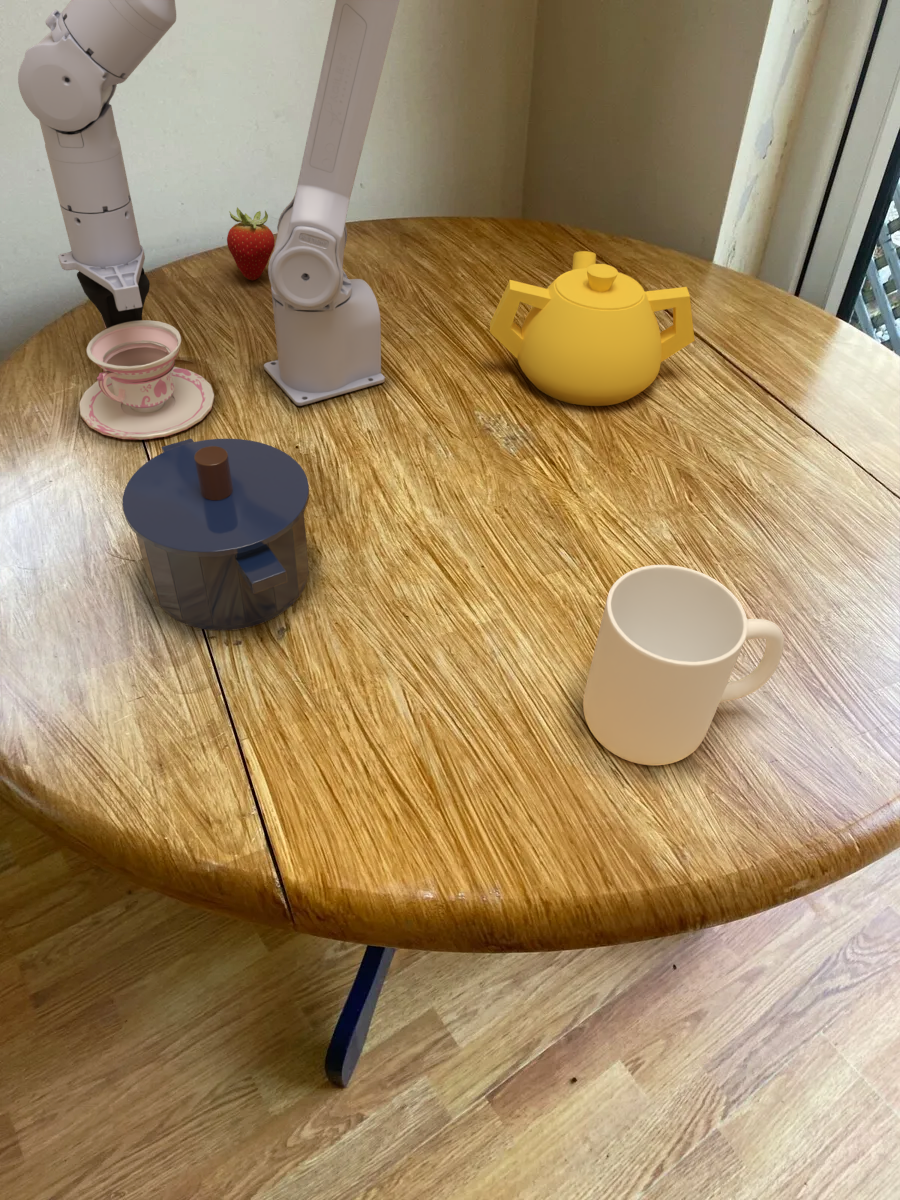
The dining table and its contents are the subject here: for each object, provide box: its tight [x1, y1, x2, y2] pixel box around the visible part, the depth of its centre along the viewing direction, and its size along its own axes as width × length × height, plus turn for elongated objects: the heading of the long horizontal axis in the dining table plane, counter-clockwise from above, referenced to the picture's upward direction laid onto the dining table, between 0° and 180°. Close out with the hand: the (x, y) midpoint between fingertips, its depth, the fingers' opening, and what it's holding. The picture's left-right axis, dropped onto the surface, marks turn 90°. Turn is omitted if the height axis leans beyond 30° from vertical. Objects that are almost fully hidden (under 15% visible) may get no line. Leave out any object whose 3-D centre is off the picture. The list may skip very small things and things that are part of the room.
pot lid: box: [121, 438, 310, 557], centre depth 62 cm, size 13×13×4 cm
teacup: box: [78, 319, 215, 440], centre depth 82 cm, size 12×12×6 cm
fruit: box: [226, 207, 276, 281], centre depth 100 cm, size 5×5×8 cm
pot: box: [135, 438, 310, 632], centre depth 66 cm, size 12×17×8 cm
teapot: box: [489, 250, 696, 407], centre depth 89 cm, size 20×18×11 cm
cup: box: [582, 564, 785, 766], centre depth 57 cm, size 8×12×10 cm
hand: (128, 347), depth 85 cm, fingers closed
